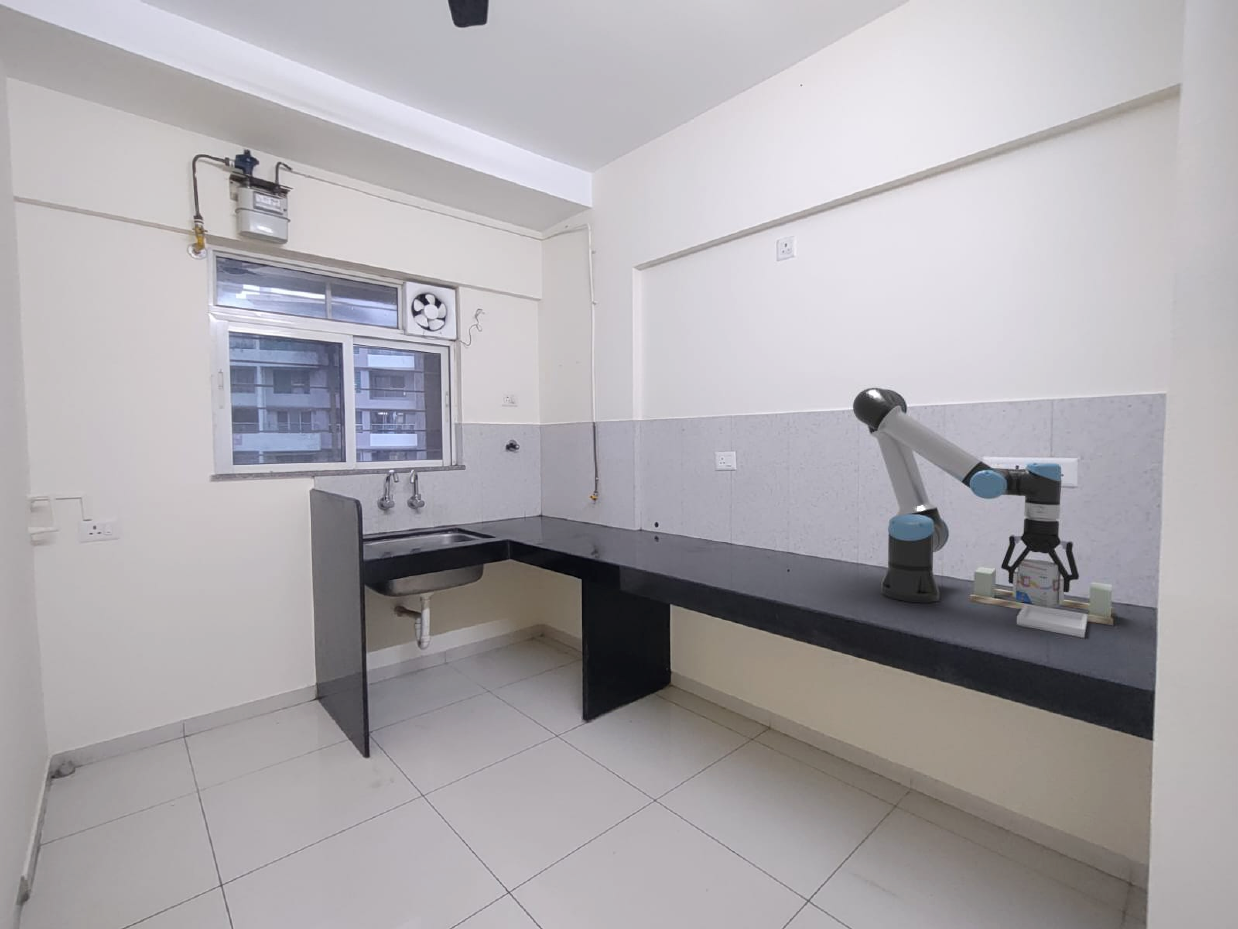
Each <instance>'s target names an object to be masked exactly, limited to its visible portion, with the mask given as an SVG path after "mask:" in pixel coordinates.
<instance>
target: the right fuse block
mask: <svg viewBox="0 0 1238 929" xmlns="http://www.w3.org/2000/svg"><path fill="white" fill-rule="evenodd" d="M1112 590H1113V585H1112V584H1109V583H1102V582H1094V581H1091V582H1090V587H1089V604H1090V605H1089V610H1088V614H1090V615H1096V616H1102V617H1108V618H1112V616H1111V615H1112V614H1111V607H1112V595H1113V594H1112V592H1113V591H1112Z"/></svg>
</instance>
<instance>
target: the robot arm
mask: <svg viewBox="0 0 1238 929" xmlns="http://www.w3.org/2000/svg"><path fill="white" fill-rule="evenodd" d="M852 403H853V404H852V409H853V410H852V411H853V414H854V415H855V417H856V419H857V420H859V421H860V422H861V423H863V424H864V425H866V426H867V428H868V431H869V434H870V436H872V437H874V438H876V439H877V442H878V445H879V448H880V452H881V454H882V458H883V460H884V464H885V467H886V470H887V473H888V477H889V479H890V482H891V486H892V489H893V493H894V496H895V499H896V501H897V505H898V509H899V510H898V512H897V513H896V515H894V516H892V517H891V518H890V519H889V521H888V526H887V532H888V541H887V542H888V543H887V544H888V546H887V547H888V549H887V550H888V552H887V553H888V554H887V559H888V560H887V569H886V572H885V574H884V576H883V579H882V581H881V584H880V593H881V594H882V595H883V596H884V597H888V598H891V599H894V600H898V601H904V602H911V603H934V602H937V601H939V600H940V588H939V587H938V583H937V581H936V578H935V575H934V568H933V567H934V553H936V552H938V551H940V550H942V549H943V548H944V546H945V545H946V544H947V542H948V540H949V538H950V537H949V536H950V531H949V526H948V525H947V522H945V520H944V519H943V518H941V515H940V512H939V509H938V507H937V506H936V505H934V504H933V503H931V502H930V500H929V497H928V493H927V491H926V488H925V485H924V482H923V479H922V476H921V473H920V470H919V467H918V464H917V460H916V458H915V454H914V452H915V453H916V454H918V455H919V456H921V457H922V458H924V459H925V460H927V461H928V462H930V463H931V464H932V465H935V466H936V467H937V468H939V469H941V470H942V471H944V472H945V473H947V474H948V475H950V476H951V477H953V478H955V479H956V480H957V481H959V482H960V483H962V485H965V486H966V487H967V488H969V489H970V491H971V492H972V493H973V494H974V495H975V496H977V497H979V498H981V499H986V500H991V499H997V498H999V497H1000V496H1017V497H1018V496H1019V497H1024V512H1023V514H1024V515H1023V516H1024V517H1026V518H1024V519H1023V533H1022V535H1014V534H1011V535H1010V536H1009V538H1008V541H1009V542H1008V544H1009V545H1008V547H1007V550H1006V551H1005V552H1006V553H1005V555H1004V558H1003V560H1002V564H1001V566H1000V568H1001V570H1005V571H1007V572H1008V581H1007V582H1008V584H1011V585H1012V592H1013V596H1015V597H1016V595H1017V572H1018V571H1016V570H1017V569H1018V566H1019V564H1020V563H1021V562H1022V561H1023V559H1024V558H1027V556H1028V554H1029V553H1030V552H1032V553H1041V554H1044V555H1046V554H1048V556H1049V557H1050V558H1051V559H1052V561H1053V563H1055V565H1057V566H1058V570H1059V572H1060V574H1061V577H1062V578H1061V579H1060V590H1059V604H1061V605H1063V600H1064V598H1065V596H1064V593H1069V592H1070V586H1071V585H1070V584H1071V581H1077V580H1079V577H1080V574H1079V571H1078V567H1077V564H1076V559H1075V556H1074V552H1073V548H1074V547H1073V546H1074V542H1073V541H1066V540H1061V539H1060V537H1059V532H1060V531H1059V530H1060V522H1059V521H1058V520H1059V519H1060V514H1061V512H1060V511H1061V492H1062V482H1063V481H1062V467H1061V465H1060V464H1058V463H1055V462H1028V463H1027V464H1026V467H1025V468H1021V469H1019V468H1018V469H1017V468H1016V469H1015V468H1000V467H999V468H998V467H991V465H988V464H986V463H985V462H983V461H981V460H980V459H978V458H977V457H975V456H974V455H972V454H970V453H969V452H967V451H966V450H965V449H962V448H961V447H959V446H958V445H957V444H955V443H953V442H951V441H950V440H948V439H947V438H945V437H944V436H941V435H940V434H938V433H937V432H935V431H934V430H932V429H930V428H929V427H928V426H926V425H924V424H923V423H921V422H920V421H918V420H916V419H915V418H913V417H912V416H910V415H908V414H907V412H908V405H907V402H906V399H905V398H904V397H903V396H902V395H901V394H899V393H898V392H896V391H895V390H891V389H885V388H884V389H883V388H881V387H880V388H879V387H869V388H865V389H863V390H862V391H860V392H859V393H858V394H857V395H856V396H855V398H854V400H853V402H852ZM1020 541H1022V543H1023V544H1024V545H1025V548H1024V550H1023V551H1022V552H1021V553H1020V555H1019V556H1018V557H1017V559H1016V560H1015V561H1014V562H1013V564H1012V565H1011V566H1010V565H1009V563H1010V562H1011V559H1012V556H1013V552H1014V551H1015V549H1016V548H1015V547H1016V545H1018V544H1019V543H1020ZM1059 546H1062V547H1061V548H1062V549H1063V550H1065V555H1066V558H1067V561H1068V566H1069V569H1070V573H1069V572H1068V571H1067V569H1066V567H1065V566H1064V563H1063V562H1062V561H1061V559H1060V557H1059V555H1058V553H1057V551H1056V550H1055V549H1056V548H1057V547H1059ZM1061 605H1060V606H1061Z"/></svg>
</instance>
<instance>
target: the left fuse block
mask: <svg viewBox="0 0 1238 929" xmlns="http://www.w3.org/2000/svg"><path fill="white" fill-rule="evenodd" d="M973 574H974V575H973V578H974V579H973V595H977V596H983V597H989V598H995V597H996V595H995V589H996V583H997V582H996V580H997V579H996V578H997V569H996V568H993V567H991V568H990V567H983V566H979V567H978V568H976V569H975V570H974V572H973Z"/></svg>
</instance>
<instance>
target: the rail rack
mask: <svg viewBox="0 0 1238 929" xmlns="http://www.w3.org/2000/svg"><path fill="white" fill-rule="evenodd" d="M995 596H1000V597H1007V598H1012V599H1016V597H1015V596H1013V590H1012V591H1011V590H1005V589H999V588H995ZM969 601H970V602H977V603H982V604H988V605H994V606H998V607H1004V608H1011V609H1012V608H1013V609H1017V610H1021V609H1022V608H1023V606H1024V604H1026V602H1024V603H1023V602H1017V601H1014V600H1013V601H1012V600H1008V599H1007V600H1005V599H1000V598H995V597H994V598H989V597H983V596H977V595H974V594H969ZM1028 604H1029V605H1032V604H1031V603H1028ZM1089 605H1090V602H1088V603H1087V602H1082V601H1077V600H1075V601H1074V600H1068V599H1063V605H1061V604H1059V606H1062V607H1070V608H1073V609H1080V610H1086V611H1089ZM1035 606H1038V605H1035ZM1041 607H1043V606H1041ZM1047 608H1049V607H1047ZM1053 609H1056V607H1054V608H1053ZM1058 609H1059V610H1062V609H1060V608H1058ZM1063 610H1064V611H1068V610H1066V609H1063ZM1069 611H1070V612H1074V611H1072V610H1069ZM1075 612H1076V613H1080V611H1079V612H1077V611H1075ZM1081 613H1082V614H1085V613H1083V612H1081ZM1087 614H1088V615H1087V622H1091V623H1098V624H1103V625H1109V626H1113V625H1114V618H1113V617H1111V618H1108V617H1102V616H1096V615H1090V614H1089V613H1087ZM1111 615H1114V607H1112V606H1111Z"/></svg>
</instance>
